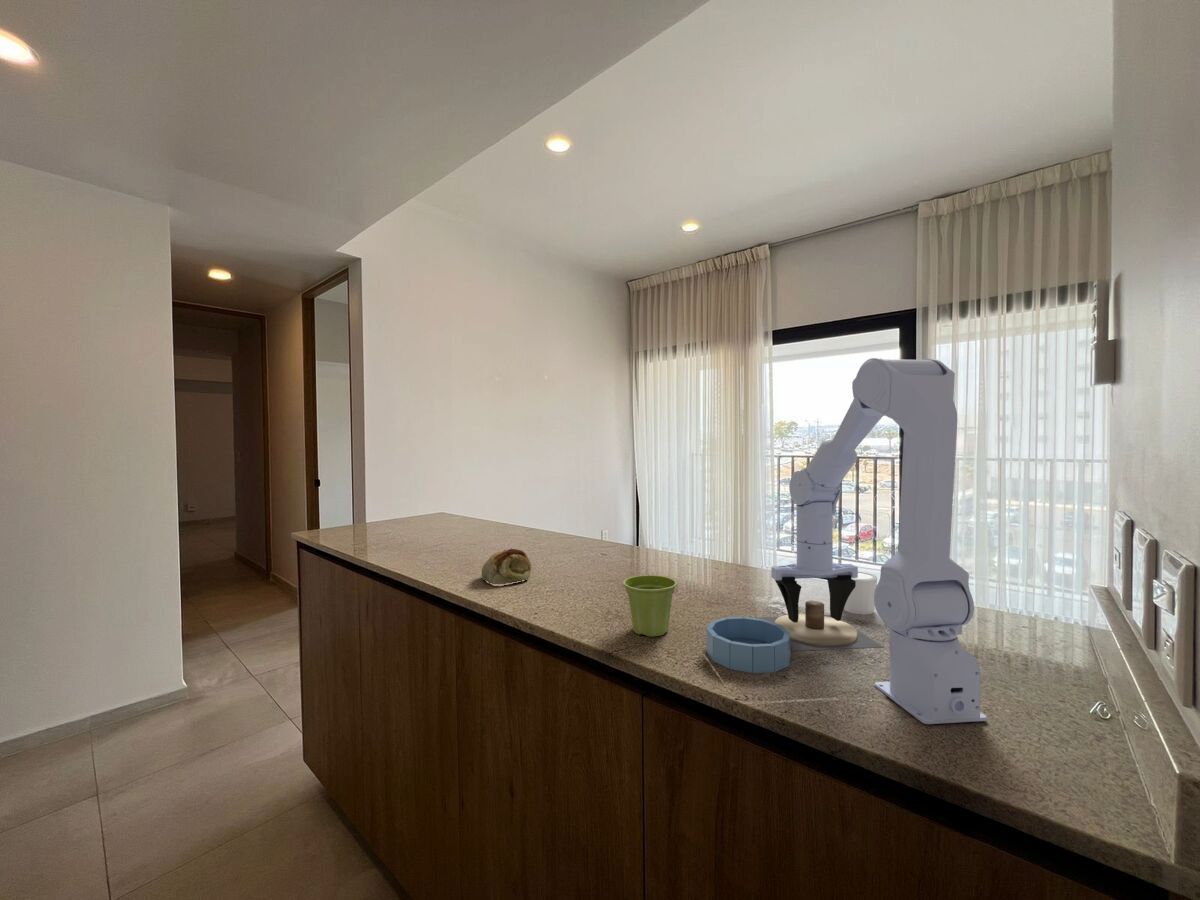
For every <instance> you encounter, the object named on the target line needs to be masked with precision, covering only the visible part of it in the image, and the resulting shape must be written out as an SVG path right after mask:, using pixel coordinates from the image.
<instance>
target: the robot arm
mask: <svg viewBox="0 0 1200 900" xmlns="http://www.w3.org/2000/svg"><path fill="white" fill-rule="evenodd" d="M955 376H956V375H955V372H954V371H953V370H952V369H950V368H949V367H948V366H947V365H945V363H943V362H942V361H941V360H939V359H935V358H927V359H897V358H896V359H894V358H893V359H891V358H882V357H871V358H869V359H867V360H865V361H864V362H863V363H862V364H861V366H860V367H859V369H858V371H857V373H856V376H855V378H854V379H853V380H852V381H851V383H852V384H851V385H852V387H851V388H852V395H853V396H852V397H853V400H852V401H851V404H850V406H849V407H848V409H847V412H846V413H845V416H844V417H843V419H842V421H841V423H840V425H839V427H838V429H837V431H836V432H835V435H834V437H833V438H826V439H825V440H823V441H822V442H821V444H820V445H819V447H818V449H817V450H816V452H815V453H814V455H813V456H812V458H811V460H810V461H809V462H808V465H807V466H805V468H801V470H796V471H794V472H793V473H792V475H791V478H790V480H789V485H788V486H789V488H788V489H789V496H790V498H791V499H792V502H793V503H794V504H795V505H796V506H795V507H796V563H790V564H785V565H784V564H783V565H775V566H771V567H770V568H771V578H772V579H773V580H774V581H775V583H776V585H777V587H778V589H779V591H780V593H781V596H782V598H783V601H784V603H785V608H786V612H787V615H788V617H789V619H790V620H791V621H792V622H794V623H795V622H798V617H799V614H800V613H799V612H800V611H799V603H800V601H799V600H800V595H801V589H802V586H801V584H799V583H798V581H797V580H796V579H798V580H799V579H822V578H823V579H826V580H827V584H828V592H829V612H830V614H829V615H831V617H832V618H834V619H835V620H837V621H841V620H842V617H843V613H844V607H845V604H846V602H847V599H848V597H849V595H850V594H851V592H852V591H853V589H854V588H855V586H856V581H855V580H852V579H851V578H858V572H859V570H858V568H859V567H858V566H856V565H854V564H852V563H834V561H833V558H834V554H833V550H834V549H833V547H834V545H833V544H834V543H833V542H834V541H833V539H834V537H833V535H834V534H833V525H834V524H833V522H834V521H833V519H834V518H833V516H834V515H835V514H836V512H837V504H838V501H839V500H840V497H841V493H842V492H841V491H842V489H841V488H840V485H841V483H842V481H843V480H844V479H845V477H846V476H847V475H848V473H849V472H850V471H851V469H852V468H853V466H854V465H855V463H856V462H857V459H858V455H857V451H856V449H857V448H858V446H859V445H860V444H861V443H862V442H863V441H864V439H865V438H866V437H867V436H868V435H869V433H871V431H872V430H873V428H875V426H876V425H877V424H878V423H879V422H880V420H881V419H882V418H883V417H884V416H886V417H887V418H889V419H892V420H893V421H894V422H895V424H896V425H898V426H899V427H900V428H901V429H902V431H903V443H902V462H901V463H902V466H901V480H900V481H901V482H900V483H901V484H900V485H901V486H900V503H899V506H900V507H899V523H898V524H899V527H898V542H897V543H898V546H897V547H898V548H897V549H898V550H897V551H896V552H895V553H894V555H892V556H891V557H890V558H889V559H888V560H886V561H885V562H884V563H883V565H881V567H880V573H879V574H880V576H879V580H878V581H877V586H876V589H875V593H874V604H875V607H874V609H875V610H876V613H877V615H878V617H879V618H880V619H881V620H880V621H882V623H884V627H887V628H888V629H889V681H876V682H874V687H875V688H876V689H878V690H879V691H880V692H881V693H883V694H884V695H885V696H887V697H888V698H889V699H891V700H892V701H894V702H895V703H896V704H897V705H898V706H900V707H901V708H902V709H904V710H905V711H907V712H908V713H909V714H911V715H912V716H913V717H914V718H915V719H917V720H918V721H919V722H921V723H922V724H925V725H936V724H937V725H938V724H939V725H940V724H956V723H957V724H958V723H969V722H970V723H971V722H973V723H974V722H985V721H987V720H988V719H987V718H988V717H987V715H985V714H984V713H982V712H981V669H980V665H979V662H978V660H977V659H976V658H975V656H974V655H973V654H972V653H971V652H969V651H967V650H966V649H965V647H963V645H962V644H961V643H960V640H959V638H958V636H959V635H963V626H965V625H967V624H968V623H970V621H971V620H972V618H973V617H974V613H975V604H974V603H975V602H974V597H973V596H972V594H971V590H970V585H969V583H970V582H969V581H970V579H969V578H970V577H969V576H970V574H969V572H967V570H965V569H964V568H963V567H962V566H960V565H959V564H958V563H957V562H956V561H955V560H953V559H952V558H951V557H950V556H951V540H952V539H951V537H952V524H953V523H952V522H953V519H952V518H953V507H954V506H953V504H954V487H955V486H954V485H955V484H954V483H955V468H956V454H957V453H956V451H957V436H958V435H957V433H958V412H957V408H956V404H955V400H954V395H955V394H954V393H955V378H956V377H955Z"/></svg>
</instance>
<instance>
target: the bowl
mask: <svg viewBox="0 0 1200 900" xmlns="http://www.w3.org/2000/svg"><path fill="white" fill-rule="evenodd" d="M757 618H758V617H750V616H726V617H721V618H718V619H715V620H712V621H710V622H709V624H708V625H707V627H706V653H707V655H708V656H709V658H710V659H711V661H713V662H714V663H716V664H718V665H720V666H722V667H725V668H727V669H730V670H735V671H740V672H745V673H751V674H761V673H762V674H763V673H765V674H766V673H776V672H778V671H780V670H782V669H785V668H788V667H789V666H790V661H791V649H790V632H789V631H787V630H786V629H785V628H784V627H782V626H781V625H779V624H776V623H773V622H770V621H767V620H763V619H757Z"/></svg>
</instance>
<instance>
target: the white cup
mask: <svg viewBox="0 0 1200 900" xmlns="http://www.w3.org/2000/svg"><path fill="white" fill-rule="evenodd" d="M851 579H852V580H855V581H856V586H855V588H854V589H853V591H852V592H851V594H850V595H849V597H848V599H847V602H846V604H845V607H844V610H843V612H847V613H850V614H854V615H855V614H856V615H872V614H874V613H875V604H874V593H875V589H876V586H877V584H878V576H877V575H874V574H872V573H868V572H863V571H858V578H851Z"/></svg>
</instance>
